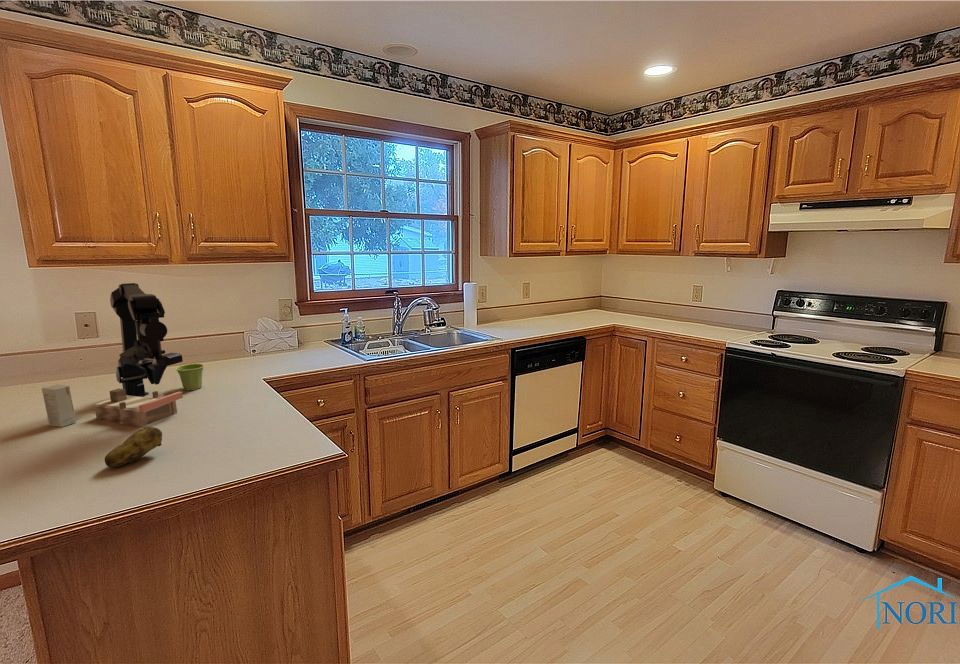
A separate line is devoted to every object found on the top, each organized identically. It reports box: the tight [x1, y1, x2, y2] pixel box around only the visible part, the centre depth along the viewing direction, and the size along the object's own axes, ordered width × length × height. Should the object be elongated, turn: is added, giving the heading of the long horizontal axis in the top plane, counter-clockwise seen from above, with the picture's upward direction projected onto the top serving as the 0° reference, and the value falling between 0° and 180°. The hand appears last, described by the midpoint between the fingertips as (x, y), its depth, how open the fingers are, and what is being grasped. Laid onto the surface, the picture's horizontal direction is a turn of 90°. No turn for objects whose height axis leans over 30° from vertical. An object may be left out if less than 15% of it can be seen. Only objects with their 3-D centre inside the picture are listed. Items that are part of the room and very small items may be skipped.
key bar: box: [139, 391, 183, 412], centre depth 151 cm, size 2×14×2 cm, turn 165°
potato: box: [104, 426, 163, 468], centre depth 124 cm, size 8×13×8 cm, turn 132°
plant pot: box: [175, 363, 205, 391], centre depth 184 cm, size 9×9×9 cm
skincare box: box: [41, 384, 77, 428], centre depth 148 cm, size 6×4×12 cm
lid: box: [95, 387, 169, 412], centre depth 154 cm, size 20×9×4 cm, turn 75°
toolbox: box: [94, 390, 178, 428], centre depth 155 cm, size 20×12×7 cm, turn 75°
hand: (155, 384), depth 150 cm, fingers closed
